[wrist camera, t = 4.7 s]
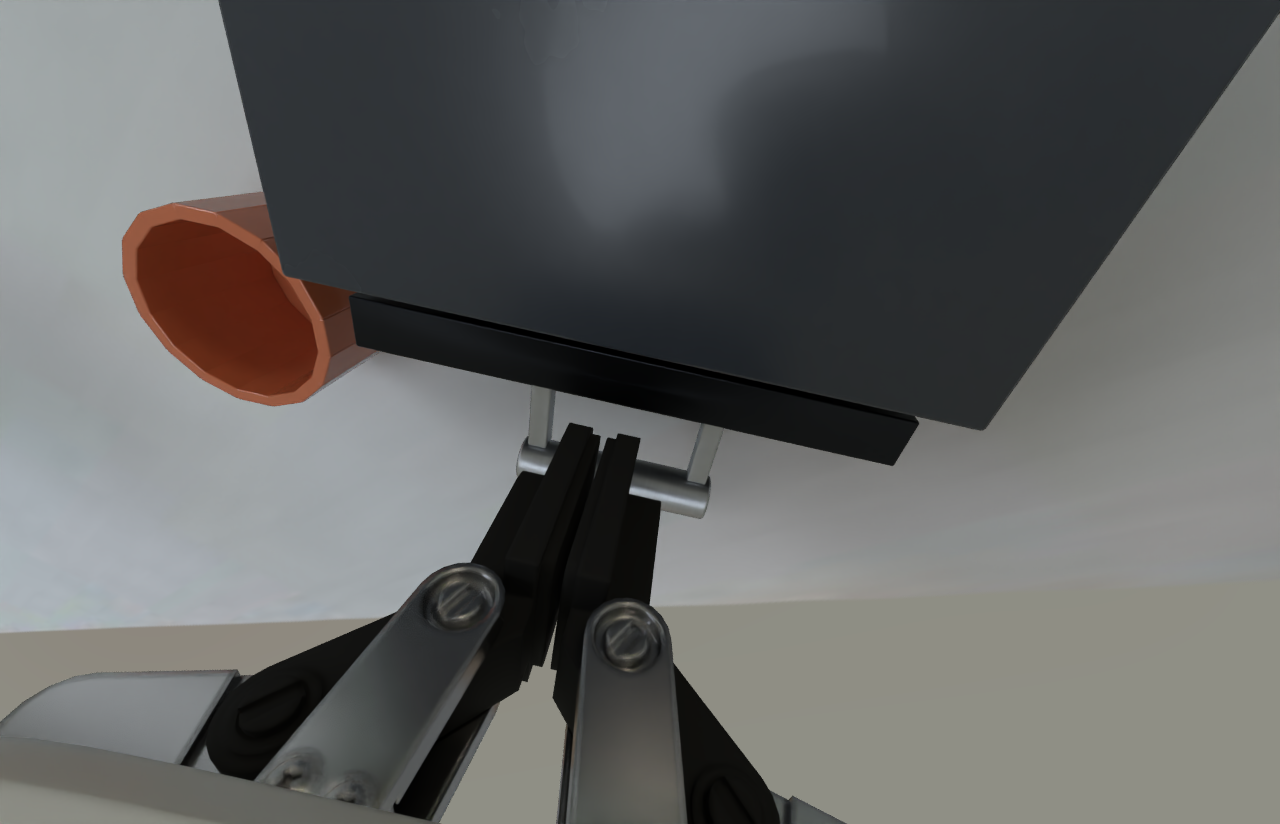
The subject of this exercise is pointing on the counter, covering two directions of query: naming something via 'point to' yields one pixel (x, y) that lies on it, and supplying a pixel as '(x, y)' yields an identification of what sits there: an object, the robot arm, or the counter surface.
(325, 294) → the cup
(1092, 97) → the dark gray drawer box
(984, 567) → the counter surface
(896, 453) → the drawer
